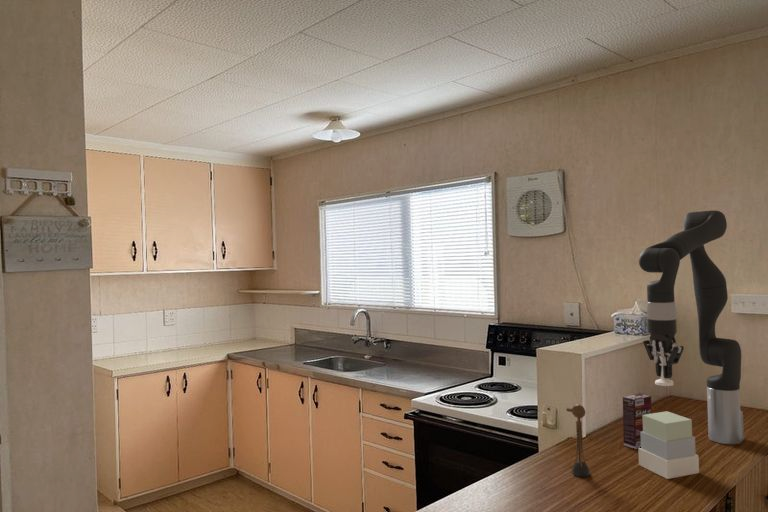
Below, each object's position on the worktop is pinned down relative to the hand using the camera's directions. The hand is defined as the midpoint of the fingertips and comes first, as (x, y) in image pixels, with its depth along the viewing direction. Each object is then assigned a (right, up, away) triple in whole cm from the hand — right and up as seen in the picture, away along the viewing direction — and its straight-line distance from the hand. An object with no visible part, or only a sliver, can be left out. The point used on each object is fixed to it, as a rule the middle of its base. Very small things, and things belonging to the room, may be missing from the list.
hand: (664, 376), depth 164 cm
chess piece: (0, -2, 0) cm, 2 cm away
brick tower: (+1, -27, 0) cm, 27 cm away
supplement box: (+2, -27, +20) cm, 33 cm away
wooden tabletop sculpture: (-25, -28, 0) cm, 37 cm away
